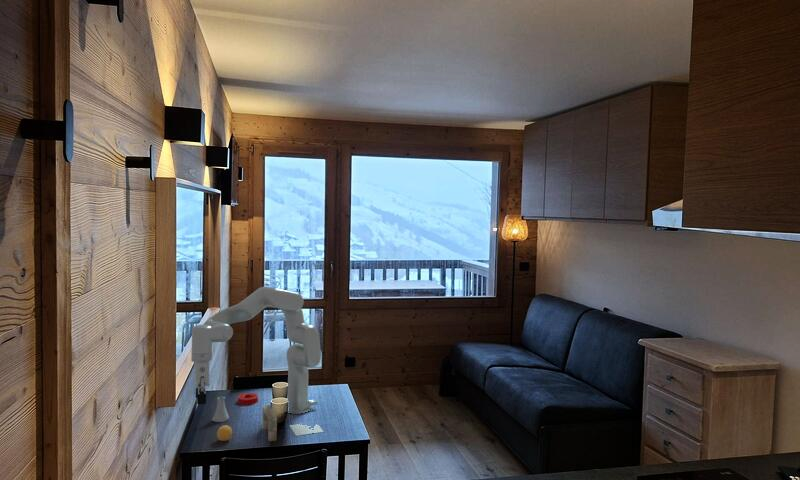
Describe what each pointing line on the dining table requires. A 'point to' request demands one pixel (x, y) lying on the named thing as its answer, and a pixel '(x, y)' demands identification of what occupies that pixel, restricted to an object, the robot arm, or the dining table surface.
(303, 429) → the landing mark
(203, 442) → the dining table surface
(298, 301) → the robot arm
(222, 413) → the flask
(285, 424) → the dining table surface
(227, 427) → the ball
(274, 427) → the bridge
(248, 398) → the decorative ornament
